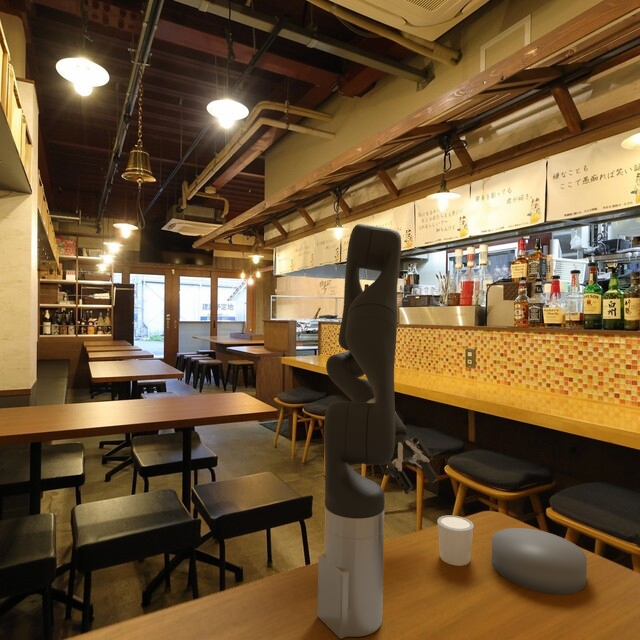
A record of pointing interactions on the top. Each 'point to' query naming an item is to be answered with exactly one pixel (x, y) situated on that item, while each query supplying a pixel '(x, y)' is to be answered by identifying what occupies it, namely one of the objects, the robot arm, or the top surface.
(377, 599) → the robot arm
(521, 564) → the stand
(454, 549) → the white cup
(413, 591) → the top surface
